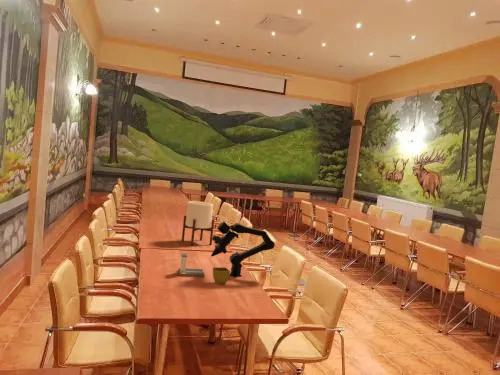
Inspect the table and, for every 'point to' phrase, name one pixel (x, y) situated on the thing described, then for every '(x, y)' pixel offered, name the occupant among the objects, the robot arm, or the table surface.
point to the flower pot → (221, 275)
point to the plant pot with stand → (198, 219)
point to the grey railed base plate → (191, 272)
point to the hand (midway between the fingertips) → (211, 256)
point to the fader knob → (183, 261)
